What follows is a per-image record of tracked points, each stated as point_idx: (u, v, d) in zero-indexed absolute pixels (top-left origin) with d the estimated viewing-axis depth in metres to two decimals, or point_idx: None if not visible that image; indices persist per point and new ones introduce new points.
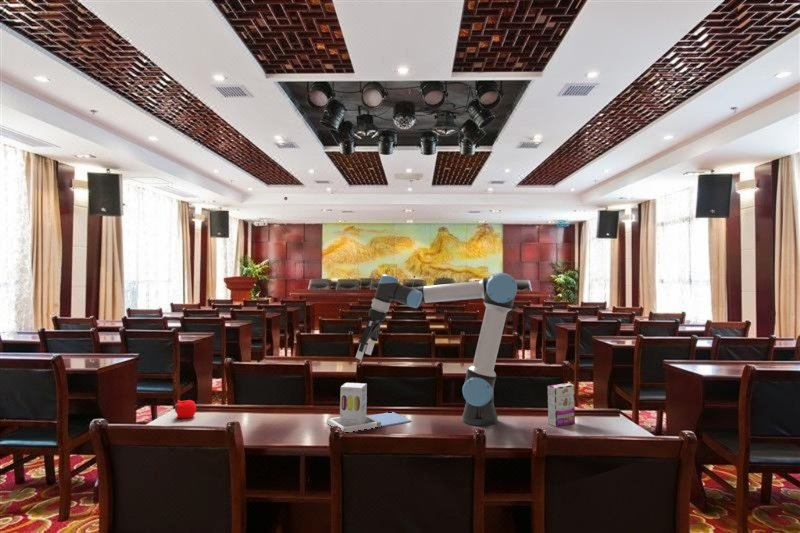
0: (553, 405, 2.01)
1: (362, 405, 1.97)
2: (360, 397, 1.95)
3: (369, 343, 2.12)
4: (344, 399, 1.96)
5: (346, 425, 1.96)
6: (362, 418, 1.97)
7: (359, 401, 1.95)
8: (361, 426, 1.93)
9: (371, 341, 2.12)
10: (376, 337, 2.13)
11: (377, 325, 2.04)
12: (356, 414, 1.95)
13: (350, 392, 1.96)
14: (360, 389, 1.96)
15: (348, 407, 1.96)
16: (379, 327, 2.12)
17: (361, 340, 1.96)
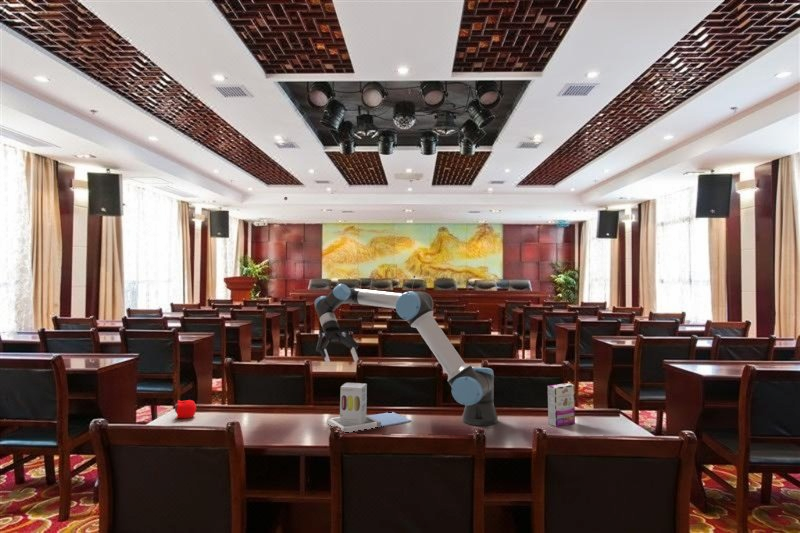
0: (553, 405, 2.01)
1: (362, 405, 1.97)
2: (360, 397, 1.95)
3: (352, 353, 2.17)
4: (344, 399, 1.96)
5: (346, 425, 1.96)
6: (362, 418, 1.97)
7: (359, 401, 1.95)
8: (361, 426, 1.93)
9: (351, 350, 2.17)
10: (353, 344, 2.18)
11: (331, 332, 2.18)
12: (356, 414, 1.95)
13: (350, 392, 1.96)
14: (360, 389, 1.96)
15: (348, 407, 1.96)
16: (348, 336, 2.21)
17: (316, 348, 2.10)
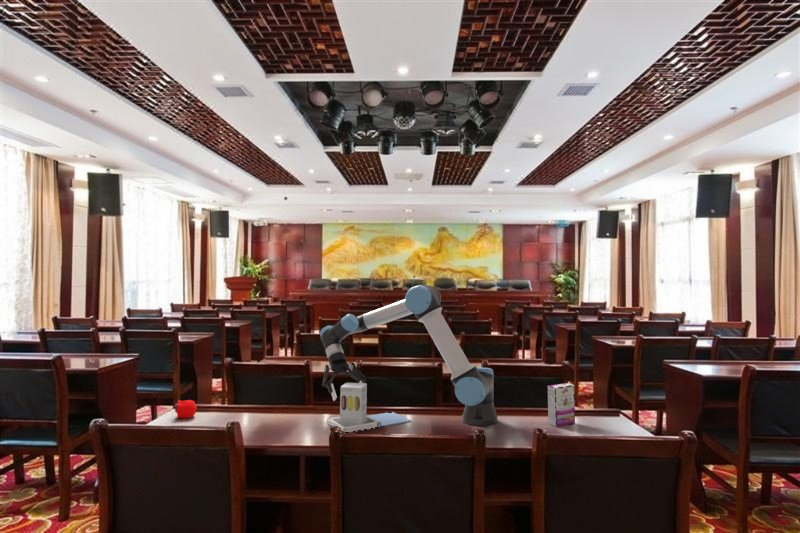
0: (553, 405, 2.01)
1: (362, 405, 1.97)
2: (360, 397, 1.95)
3: None
4: (344, 399, 1.96)
5: (346, 425, 1.96)
6: (362, 418, 1.97)
7: (359, 401, 1.95)
8: (361, 426, 1.93)
9: None
10: (360, 377, 2.10)
11: (337, 365, 2.09)
12: (356, 414, 1.95)
13: (350, 392, 1.96)
14: (360, 389, 1.95)
15: (348, 407, 1.96)
16: (356, 368, 2.13)
17: (322, 383, 2.02)
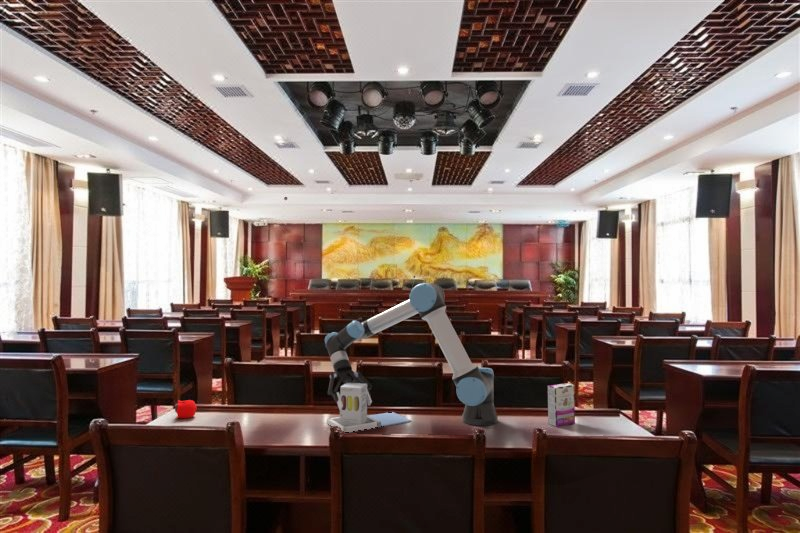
0: (553, 405, 2.01)
1: (362, 405, 1.96)
2: (359, 397, 1.95)
3: None
4: (344, 399, 1.96)
5: (346, 425, 1.96)
6: (362, 418, 1.96)
7: (358, 401, 1.95)
8: (361, 426, 1.93)
9: None
10: None
11: (343, 373, 2.06)
12: (356, 414, 1.95)
13: (350, 392, 1.96)
14: (359, 389, 1.95)
15: (348, 407, 1.96)
16: (361, 376, 2.09)
17: (328, 392, 1.99)
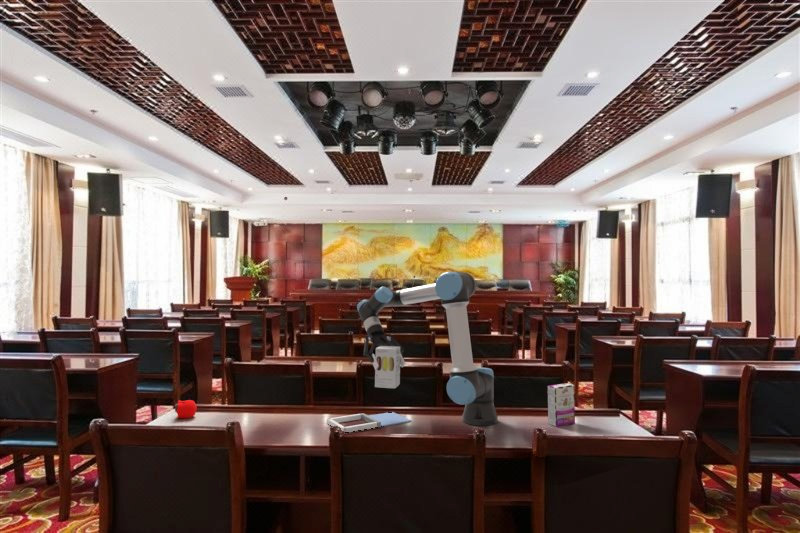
0: (553, 405, 2.01)
1: (396, 366, 2.05)
2: (394, 358, 2.04)
3: None
4: (379, 360, 2.06)
5: (381, 385, 2.05)
6: (396, 378, 2.06)
7: (393, 361, 2.04)
8: (361, 426, 1.93)
9: None
10: None
11: (377, 336, 2.15)
12: (391, 374, 2.04)
13: (385, 353, 2.05)
14: (394, 350, 2.04)
15: (383, 368, 2.05)
16: (393, 340, 2.19)
17: (363, 353, 2.08)
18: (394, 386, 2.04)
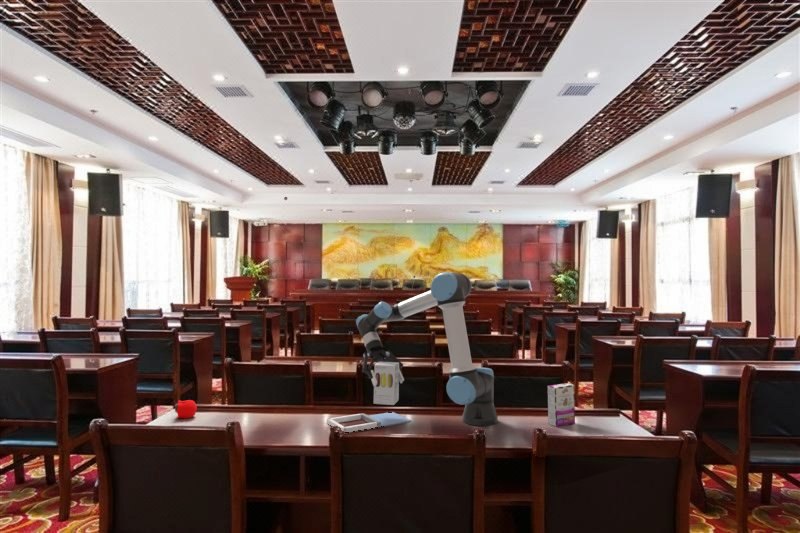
0: (553, 405, 2.01)
1: (395, 382, 2.06)
2: (393, 375, 2.04)
3: None
4: (378, 376, 2.06)
5: (380, 401, 2.05)
6: (395, 395, 2.06)
7: (392, 378, 2.04)
8: (361, 426, 1.93)
9: None
10: None
11: (375, 352, 2.15)
12: (389, 391, 2.04)
13: (384, 370, 2.05)
14: (393, 367, 2.04)
15: (382, 384, 2.05)
16: (392, 355, 2.19)
17: (362, 369, 2.08)
18: (393, 403, 2.04)
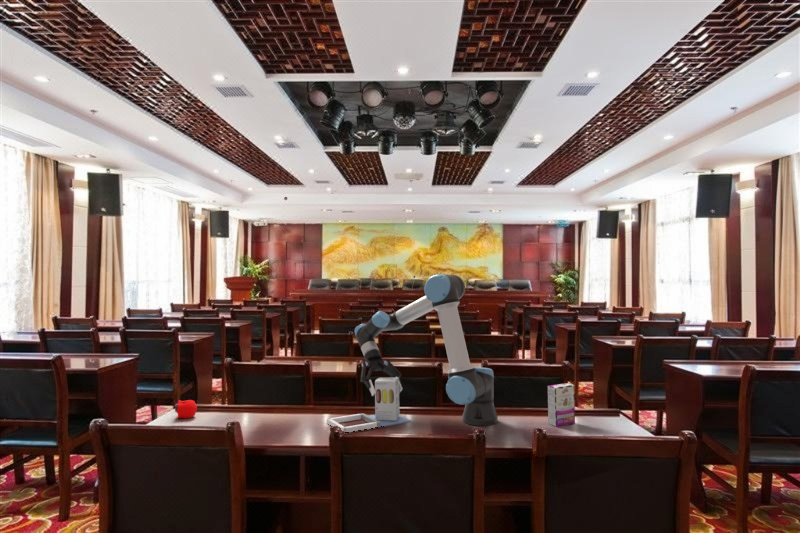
0: (553, 405, 2.01)
1: (396, 398, 2.06)
2: (394, 390, 2.04)
3: None
4: (379, 392, 2.05)
5: (381, 417, 2.05)
6: (396, 410, 2.06)
7: (393, 394, 2.04)
8: (361, 426, 1.93)
9: None
10: (396, 373, 2.17)
11: (374, 362, 2.16)
12: (391, 406, 2.04)
13: (384, 386, 2.05)
14: (394, 382, 2.05)
15: (383, 400, 2.05)
16: (391, 365, 2.20)
17: (360, 379, 2.09)
18: (395, 418, 2.04)
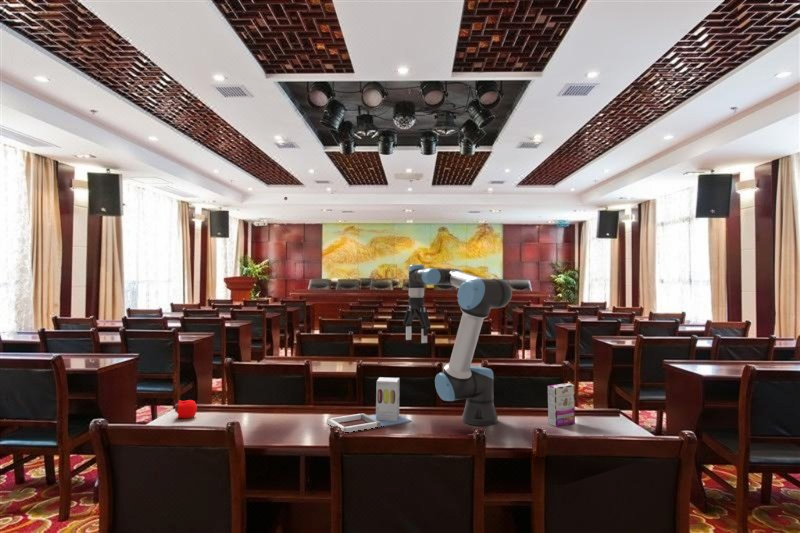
0: (553, 405, 2.01)
1: (397, 398, 2.06)
2: (396, 391, 2.05)
3: None
4: (380, 392, 2.05)
5: (382, 417, 2.05)
6: (397, 411, 2.06)
7: (395, 394, 2.05)
8: (361, 426, 1.93)
9: None
10: (423, 325, 2.23)
11: (411, 309, 2.31)
12: (392, 407, 2.05)
13: (386, 386, 2.05)
14: (395, 383, 2.05)
15: (384, 401, 2.05)
16: (422, 314, 2.24)
17: None
18: (395, 419, 2.04)
